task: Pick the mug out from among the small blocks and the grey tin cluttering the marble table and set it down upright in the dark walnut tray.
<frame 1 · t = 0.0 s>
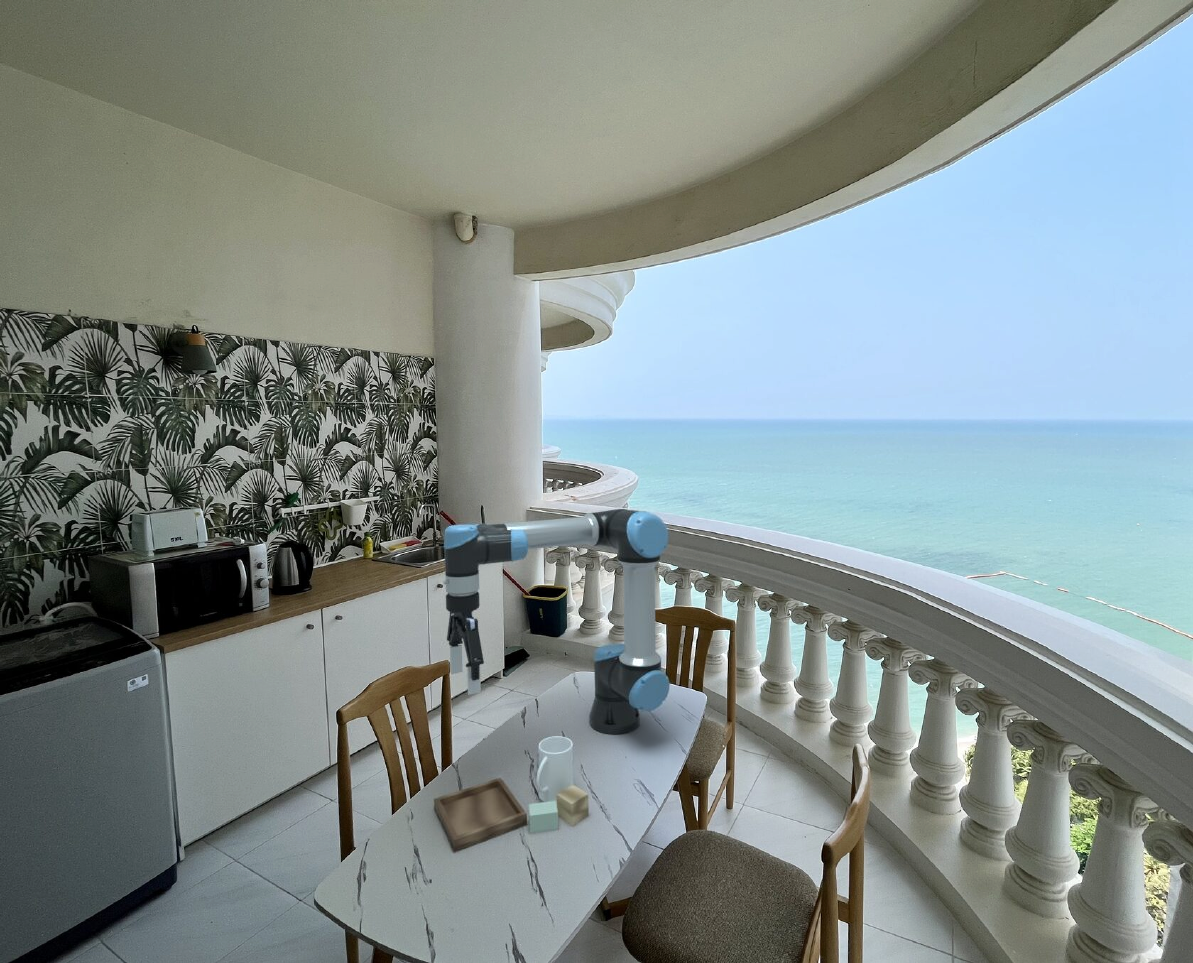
hand: (465, 682, 129), 28 cm above the table, fingers open, 13 cm apart
oak block: (572, 815, 124), on the table
grey tin: (547, 774, 140), on the table
tray: (479, 816, 124), on the table
sage block: (543, 825, 121), on the table
mug: (552, 797, 131), on the table
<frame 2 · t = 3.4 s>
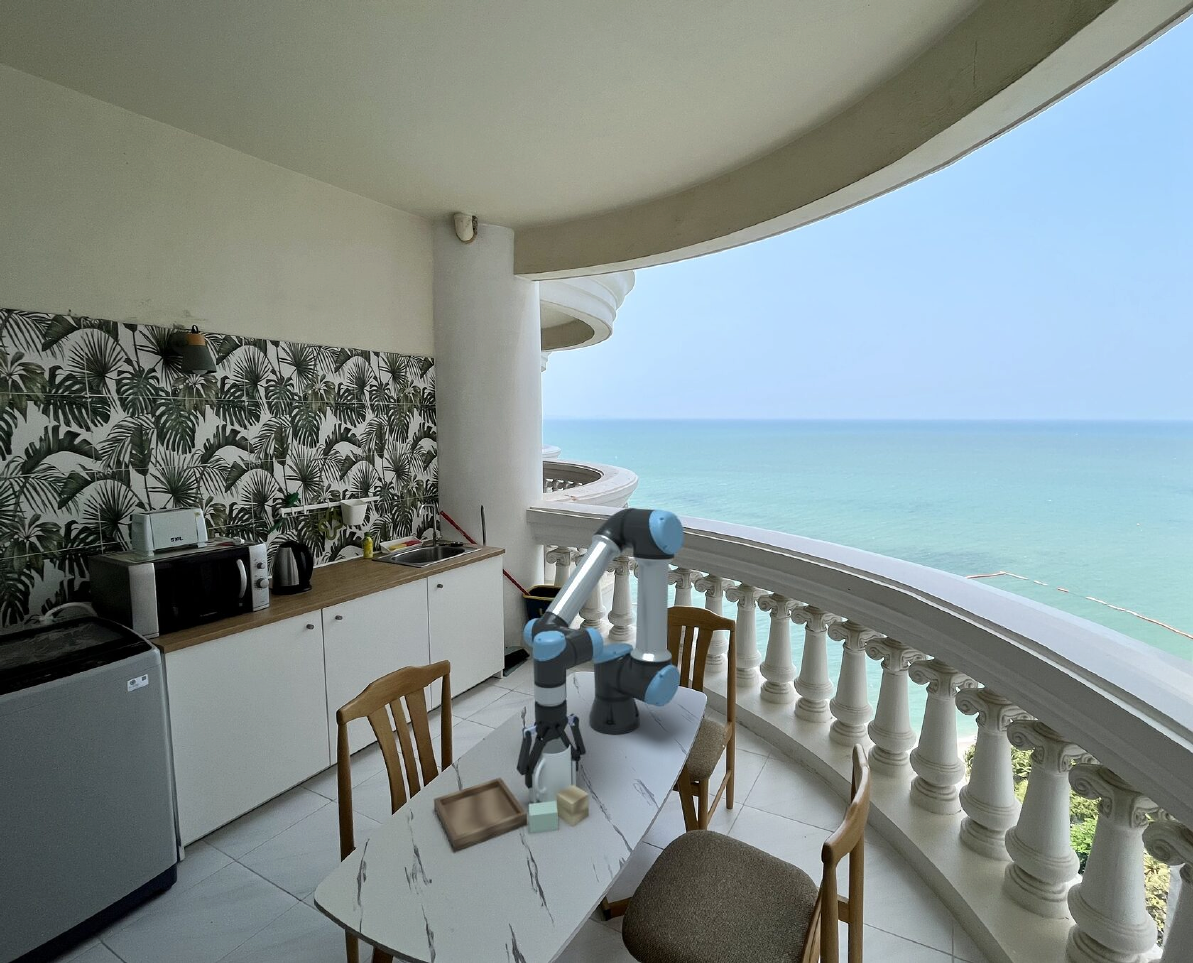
hand: (552, 792, 131), 1 cm above the table, fingers closed on mug, 10 cm apart
mug: (550, 798, 131), on the table, touching gripper
everything else where it was.
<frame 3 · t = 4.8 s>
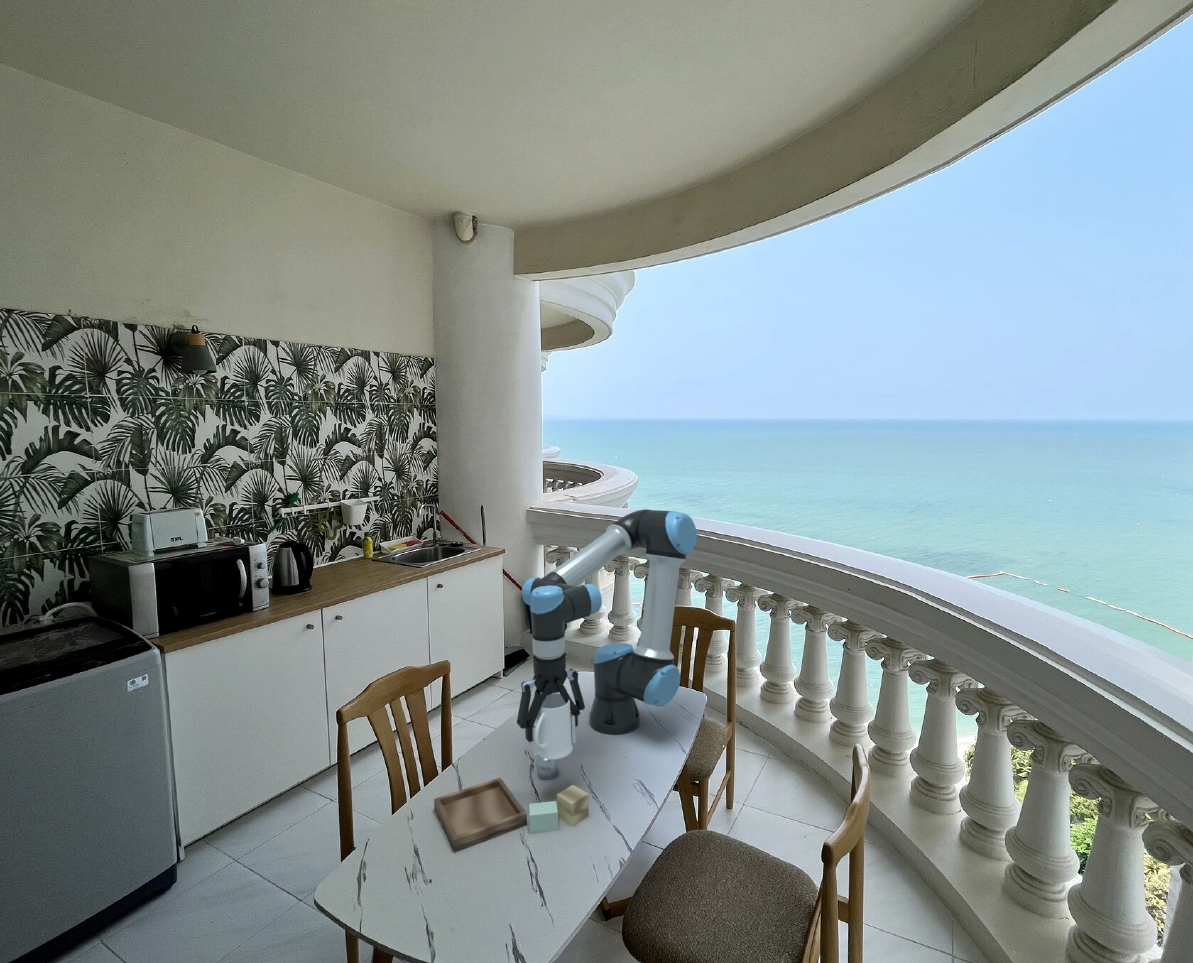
hand: (553, 746, 131), 12 cm above the table, fingers closed on mug, 9 cm apart
mug: (550, 753, 130), point 11 cm above the table, touching gripper
everything else where it was.
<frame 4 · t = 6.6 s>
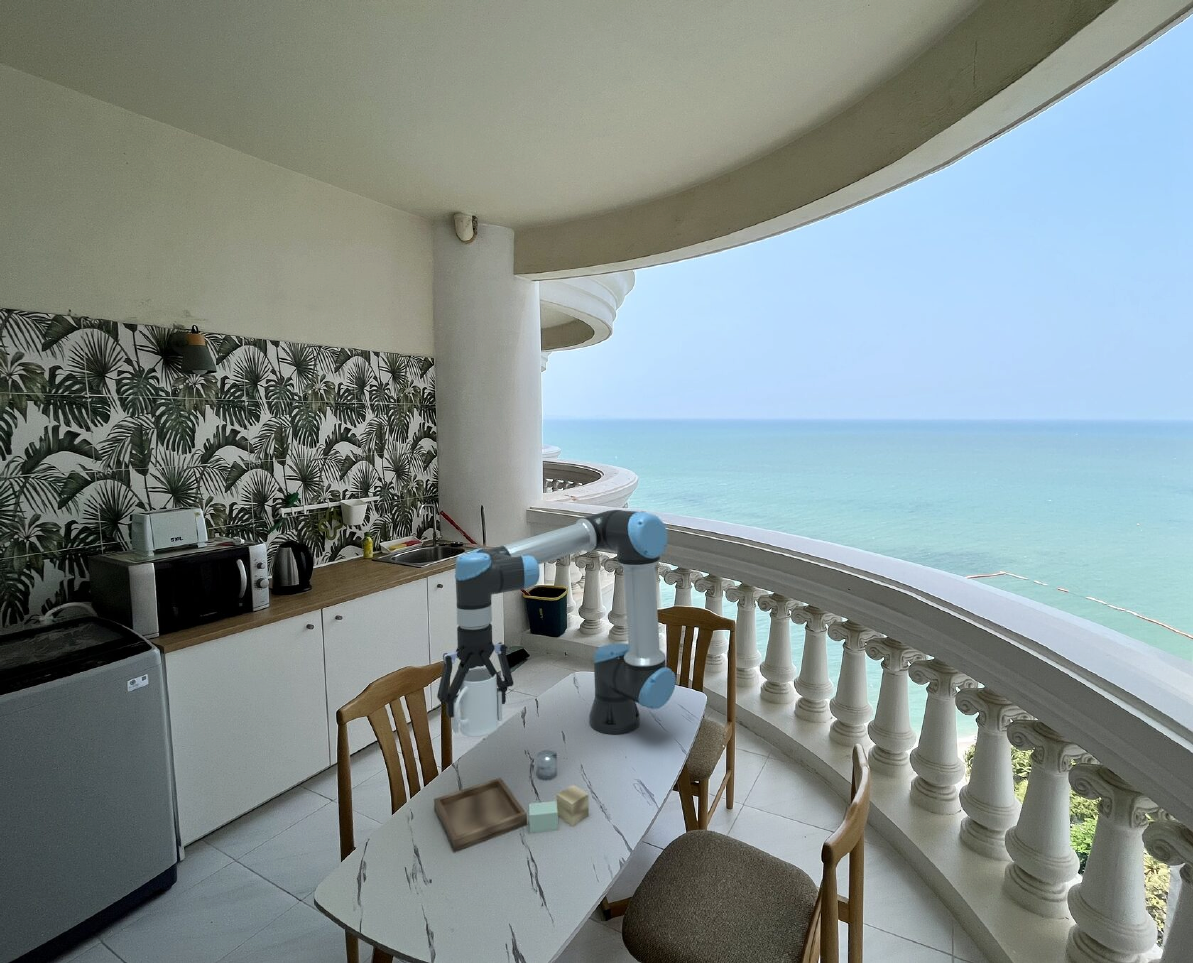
hand: (477, 724, 123), 21 cm above the table, fingers closed on mug, 9 cm apart
mug: (474, 731, 123), point 20 cm above the table, touching gripper
everything else where it was.
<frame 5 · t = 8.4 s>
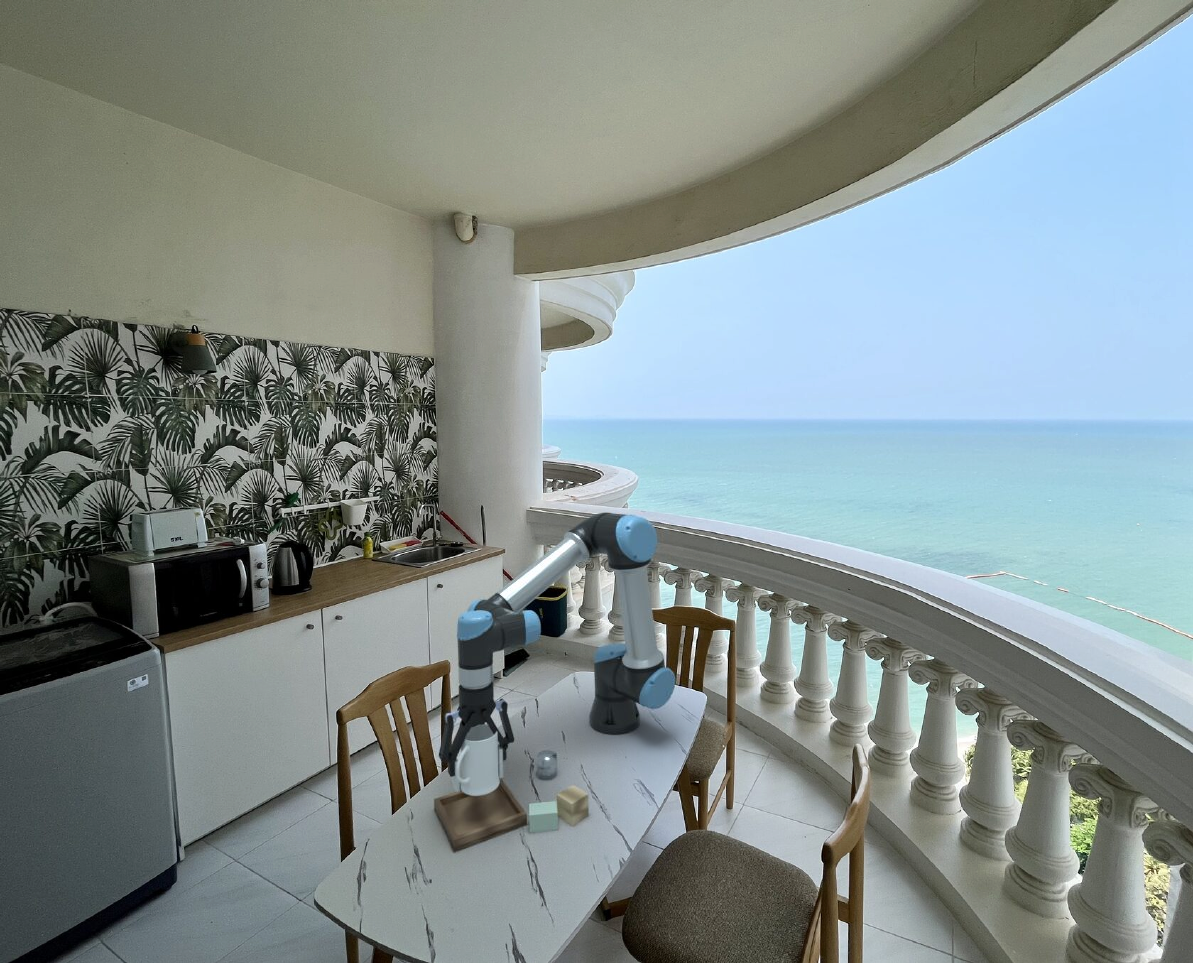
hand: (478, 781, 124), 8 cm above the table, fingers closed on mug, 9 cm apart
mug: (475, 789, 123), point 7 cm above the table, touching gripper
everything else where it was.
when the fingers open (4 cm above the table, at t = 9.7 s): mug drops 2 cm, resting on tray.
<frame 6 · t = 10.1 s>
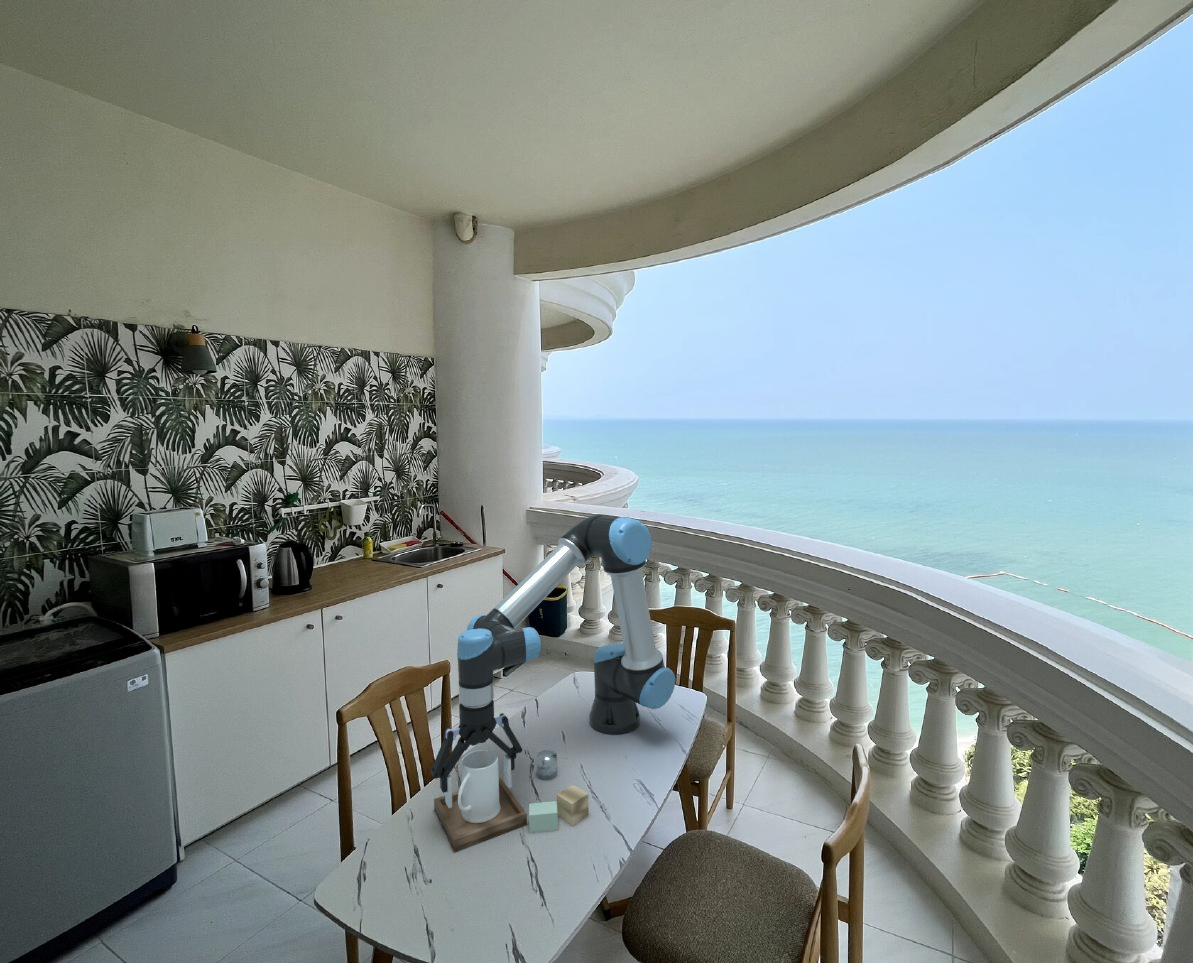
hand: (479, 794, 124), 5 cm above the table, fingers open, 13 cm apart
mug: (476, 816, 123), point 1 cm above the table, touching tray
everything else where it was.
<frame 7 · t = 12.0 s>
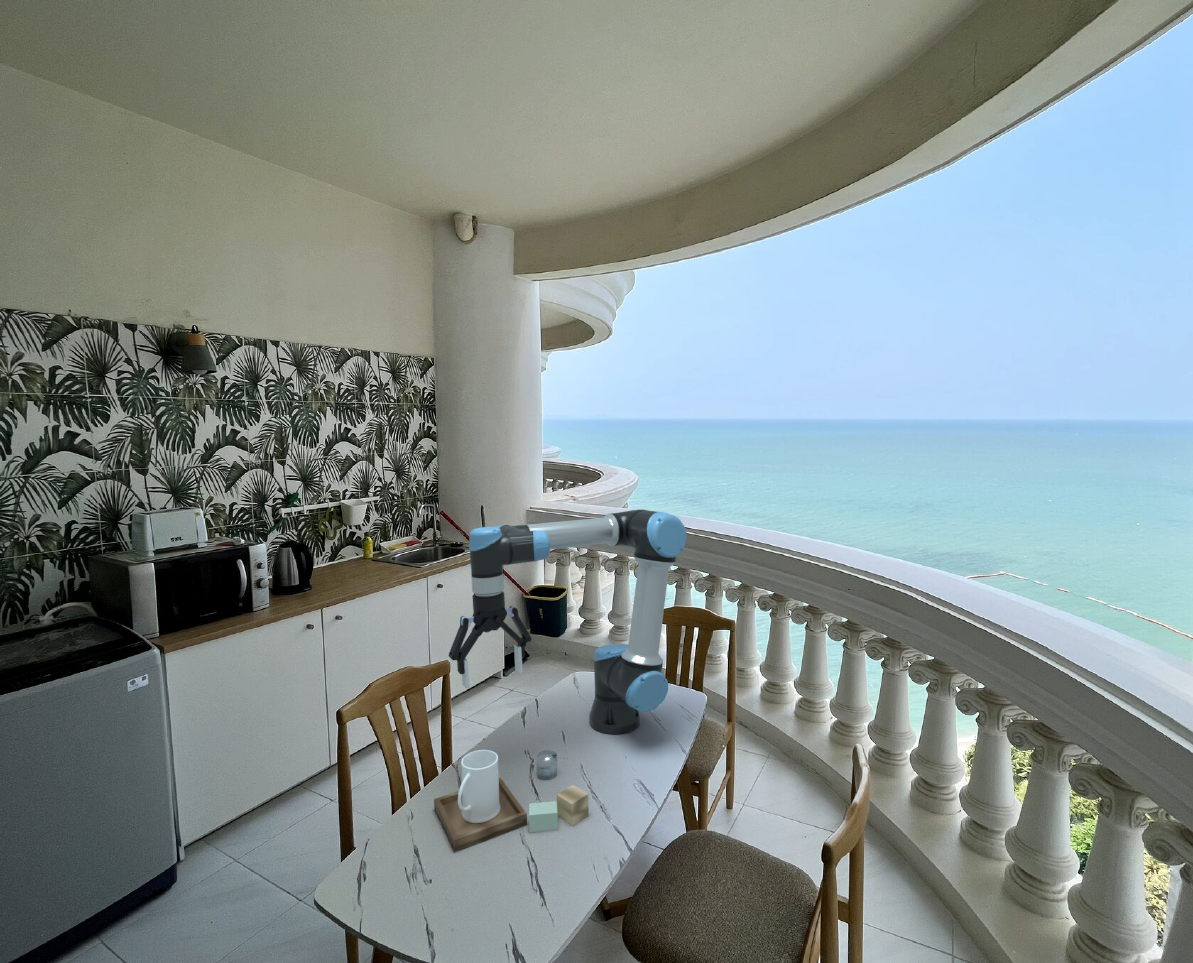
hand: (493, 678, 135), 27 cm above the table, fingers open, 13 cm apart
nothing on the table moved.
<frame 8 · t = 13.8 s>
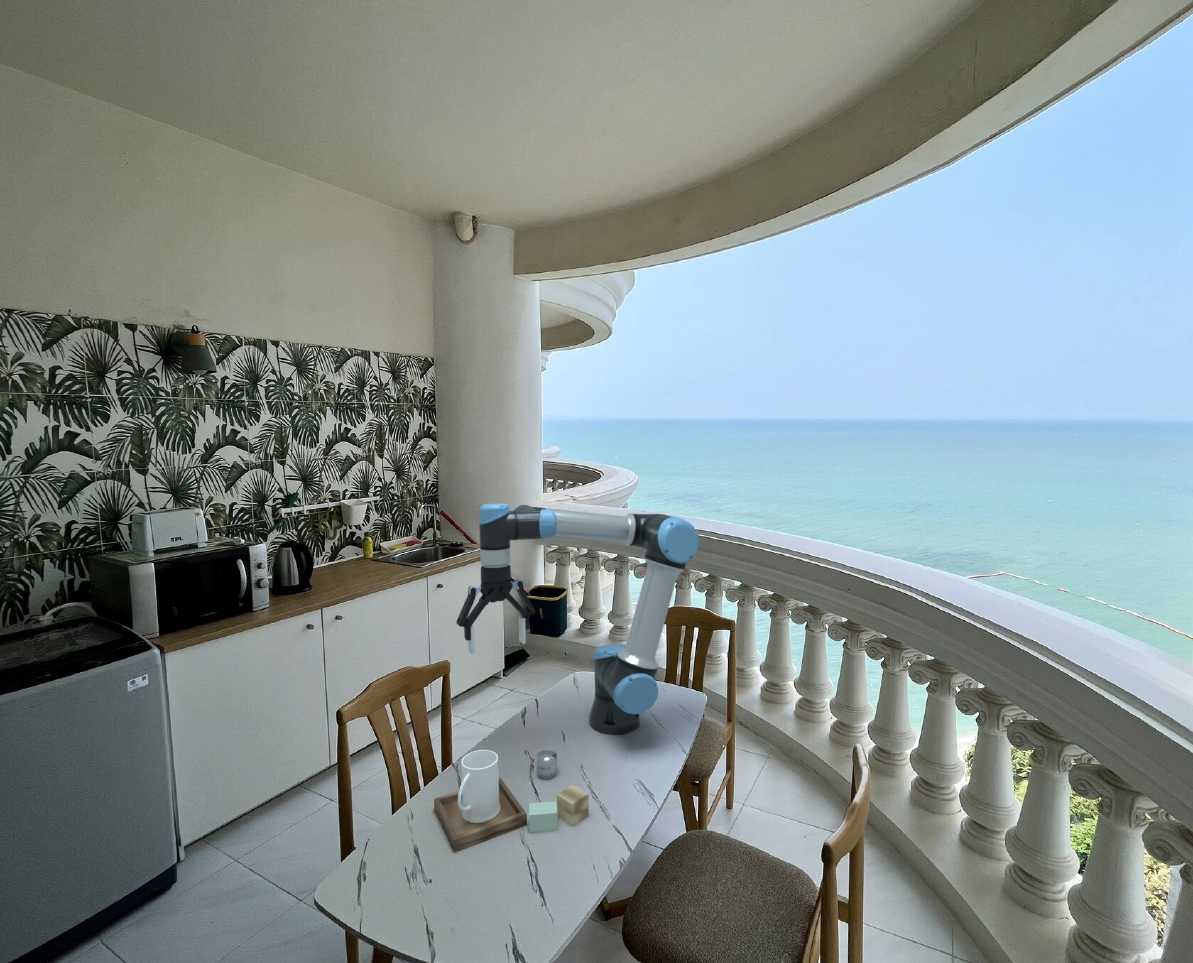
hand: (497, 647, 142), 32 cm above the table, fingers open, 13 cm apart
nothing on the table moved.
at the end: mug inside the target area on the tray (1.0 cm from its centre), point 0.8 cm above the tray's base; mug tilted 0°; the gripper is holding nothing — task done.
